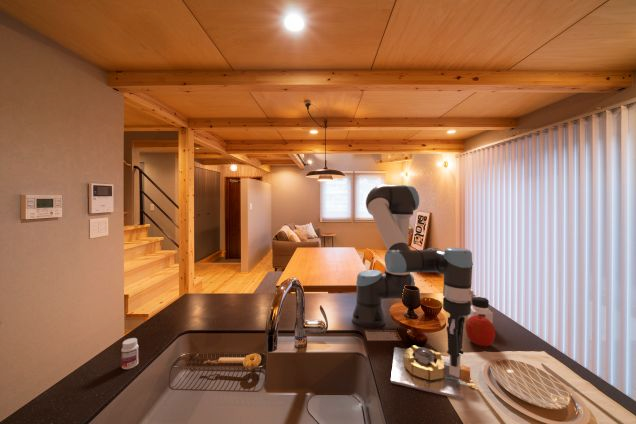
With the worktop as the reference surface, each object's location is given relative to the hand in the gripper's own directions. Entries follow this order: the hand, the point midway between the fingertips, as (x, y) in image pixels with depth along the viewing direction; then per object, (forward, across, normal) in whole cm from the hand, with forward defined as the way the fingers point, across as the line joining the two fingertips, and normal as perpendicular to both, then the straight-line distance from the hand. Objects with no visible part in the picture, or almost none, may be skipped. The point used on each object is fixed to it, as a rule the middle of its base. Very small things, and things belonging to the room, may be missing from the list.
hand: (454, 374), depth 79 cm
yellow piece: (+2, +1, +6) cm, 6 cm away
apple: (+3, +32, -2) cm, 33 cm away
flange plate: (+3, 0, +9) cm, 10 cm away
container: (+3, +51, 0) cm, 51 cm away
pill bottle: (+4, -62, +86) cm, 106 cm away
